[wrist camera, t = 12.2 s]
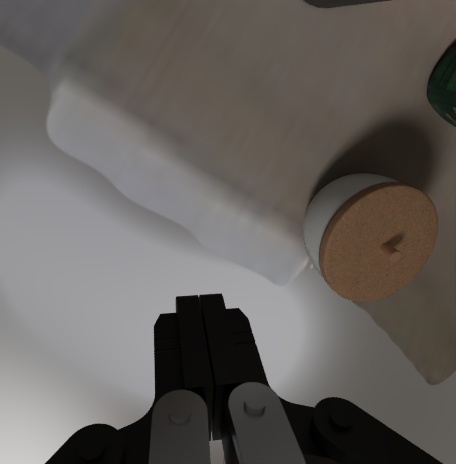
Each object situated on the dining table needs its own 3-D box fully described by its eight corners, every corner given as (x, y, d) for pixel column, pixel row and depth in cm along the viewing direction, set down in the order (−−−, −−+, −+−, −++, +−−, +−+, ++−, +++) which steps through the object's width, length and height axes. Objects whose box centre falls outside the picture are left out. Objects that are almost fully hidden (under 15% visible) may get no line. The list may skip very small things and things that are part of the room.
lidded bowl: (286, 270, 48) (333, 328, 39) (282, 170, 42) (336, 208, 33) (378, 247, 51) (443, 295, 41) (386, 149, 45) (464, 179, 36)
